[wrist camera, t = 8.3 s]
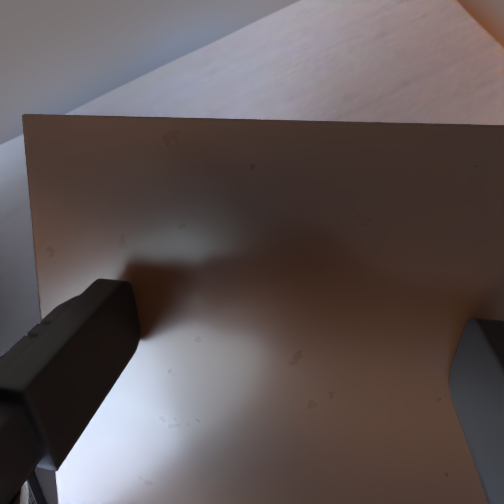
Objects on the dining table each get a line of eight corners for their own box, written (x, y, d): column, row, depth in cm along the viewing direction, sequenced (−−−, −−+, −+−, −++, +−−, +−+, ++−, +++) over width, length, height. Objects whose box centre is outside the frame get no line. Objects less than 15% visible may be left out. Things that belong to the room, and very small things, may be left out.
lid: (43, 117, 10) (20, 113, 9) (623, 132, 8) (656, 128, 7) (82, 605, 14) (68, 631, 13) (474, 707, 12) (485, 744, 11)
